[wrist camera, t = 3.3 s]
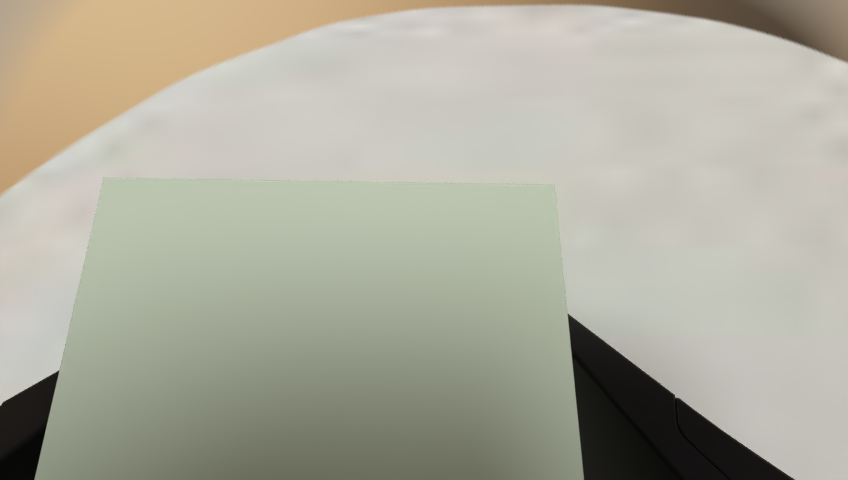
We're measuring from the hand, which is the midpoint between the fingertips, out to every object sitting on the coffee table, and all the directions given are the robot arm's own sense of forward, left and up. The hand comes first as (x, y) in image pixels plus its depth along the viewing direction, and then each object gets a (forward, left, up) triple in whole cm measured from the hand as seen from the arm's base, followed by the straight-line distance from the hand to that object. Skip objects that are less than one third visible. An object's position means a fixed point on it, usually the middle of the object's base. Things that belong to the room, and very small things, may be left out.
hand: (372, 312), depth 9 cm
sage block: (-1, 0, -7) cm, 7 cm away
